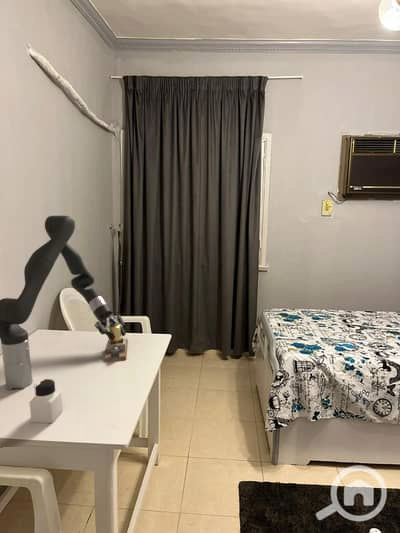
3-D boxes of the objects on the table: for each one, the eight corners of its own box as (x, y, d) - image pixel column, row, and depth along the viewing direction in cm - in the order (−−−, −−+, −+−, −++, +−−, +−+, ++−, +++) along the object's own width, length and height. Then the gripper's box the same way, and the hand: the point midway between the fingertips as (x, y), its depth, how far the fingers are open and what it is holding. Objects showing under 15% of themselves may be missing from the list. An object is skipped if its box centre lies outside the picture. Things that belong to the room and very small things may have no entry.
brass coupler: (121, 348, 174) (120, 327, 173) (111, 349, 174) (109, 328, 172) (121, 345, 179) (120, 324, 177) (112, 346, 178) (110, 325, 176)
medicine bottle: (63, 411, 126) (60, 377, 124) (52, 423, 119) (49, 387, 117) (42, 410, 127) (39, 376, 125) (31, 422, 120) (27, 387, 118)
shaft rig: (126, 360, 166) (125, 348, 165) (104, 362, 164) (104, 349, 163) (127, 340, 189) (127, 330, 188) (109, 342, 187) (108, 331, 186)
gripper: (90, 307, 171) (110, 337, 166) (115, 300, 183) (134, 328, 178) (84, 316, 175) (102, 346, 170) (108, 309, 187) (126, 337, 182)
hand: (118, 337), depth 174 cm, fingers open, 6 cm apart
